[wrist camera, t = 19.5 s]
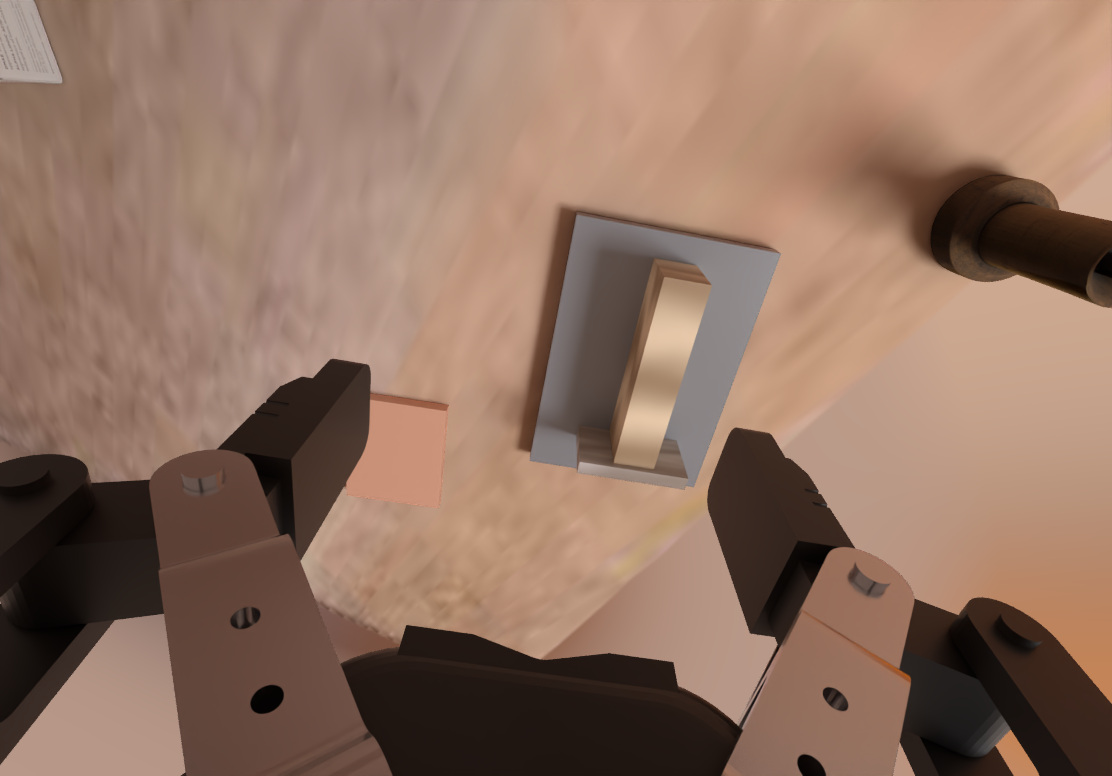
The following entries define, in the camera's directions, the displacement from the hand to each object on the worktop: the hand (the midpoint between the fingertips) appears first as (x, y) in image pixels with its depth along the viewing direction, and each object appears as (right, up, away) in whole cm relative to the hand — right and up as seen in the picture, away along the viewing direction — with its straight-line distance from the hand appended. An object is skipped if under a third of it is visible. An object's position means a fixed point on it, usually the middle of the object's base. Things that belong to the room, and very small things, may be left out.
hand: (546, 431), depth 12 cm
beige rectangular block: (+7, +3, +29) cm, 30 cm away
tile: (-12, 0, +32) cm, 34 cm away
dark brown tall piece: (+29, +12, +25) cm, 40 cm away
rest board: (+7, +3, +30) cm, 31 cm away
